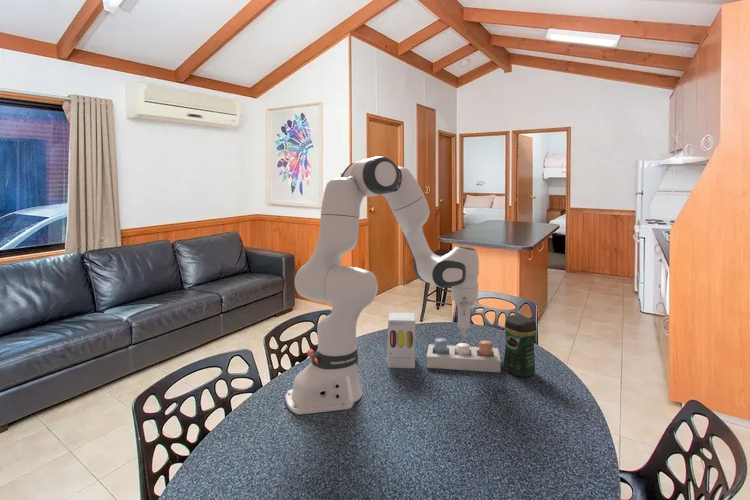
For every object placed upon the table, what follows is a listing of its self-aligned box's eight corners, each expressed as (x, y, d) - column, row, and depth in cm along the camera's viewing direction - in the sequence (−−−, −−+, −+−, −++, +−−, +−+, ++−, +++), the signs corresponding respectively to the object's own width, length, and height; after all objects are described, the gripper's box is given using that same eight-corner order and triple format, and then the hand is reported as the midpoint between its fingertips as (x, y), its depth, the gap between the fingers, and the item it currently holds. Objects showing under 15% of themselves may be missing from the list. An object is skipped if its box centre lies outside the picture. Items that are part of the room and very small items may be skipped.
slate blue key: (434, 353, 150) (434, 342, 149) (434, 348, 154) (434, 337, 153) (447, 354, 149) (447, 343, 148) (447, 349, 153) (447, 338, 153)
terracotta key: (479, 356, 147) (479, 344, 146) (478, 351, 151) (478, 340, 151) (492, 356, 146) (493, 345, 145) (491, 351, 150) (492, 340, 150)
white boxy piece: (426, 367, 148) (426, 356, 147) (428, 354, 158) (428, 344, 158) (500, 372, 143) (500, 360, 142) (497, 358, 154) (497, 348, 153)
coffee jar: (539, 374, 142) (541, 318, 139) (522, 380, 137) (524, 323, 135) (515, 363, 150) (517, 311, 147) (498, 369, 146) (500, 315, 143)
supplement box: (387, 368, 148) (386, 320, 145) (388, 357, 157) (387, 311, 154) (415, 368, 147) (415, 320, 144) (415, 357, 156) (415, 311, 153)
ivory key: (456, 358, 149) (456, 347, 148) (456, 353, 153) (456, 342, 152) (469, 359, 148) (469, 348, 147) (469, 354, 152) (469, 343, 151)
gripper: (474, 302, 136) (473, 345, 137) (473, 288, 155) (472, 325, 157) (454, 301, 137) (453, 344, 139) (455, 287, 157) (454, 324, 159)
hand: (463, 334), depth 148 cm, fingers closed
